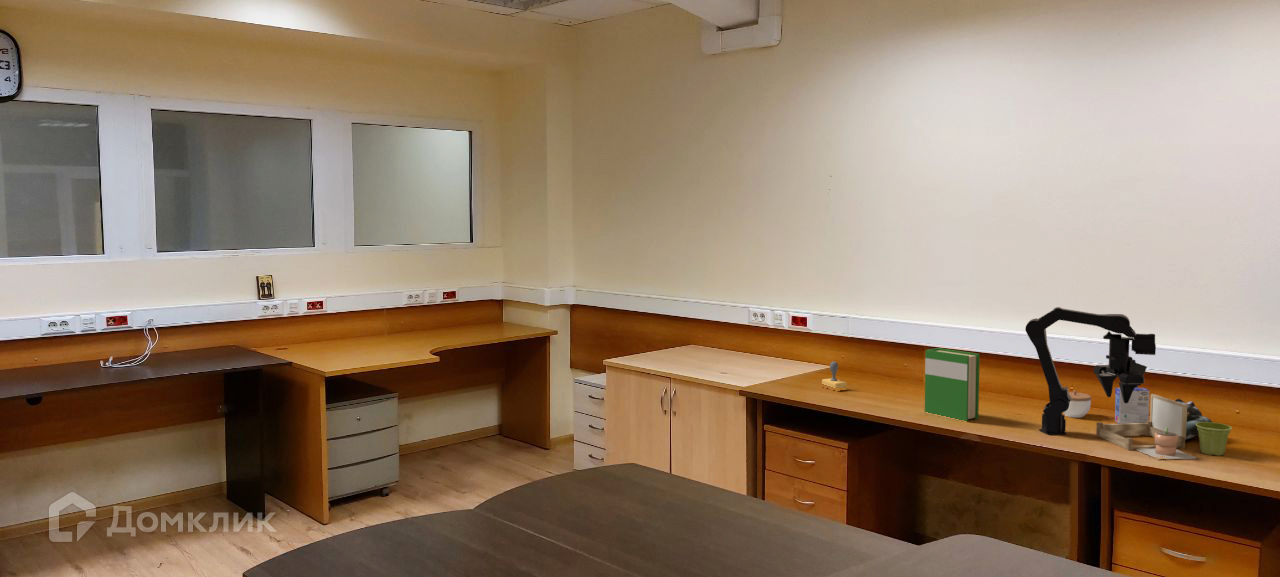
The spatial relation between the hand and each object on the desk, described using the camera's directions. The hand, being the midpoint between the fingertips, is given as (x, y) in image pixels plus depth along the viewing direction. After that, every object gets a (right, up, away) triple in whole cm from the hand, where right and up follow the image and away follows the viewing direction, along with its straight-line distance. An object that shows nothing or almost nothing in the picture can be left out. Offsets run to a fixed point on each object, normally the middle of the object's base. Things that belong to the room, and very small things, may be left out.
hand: (1117, 400), depth 285 cm
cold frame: (+5, -13, -3) cm, 15 cm away
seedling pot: (+5, -14, -17) cm, 23 cm away
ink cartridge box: (+17, -11, +22) cm, 30 cm away
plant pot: (+20, -15, -17) cm, 30 cm away
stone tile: (+5, -15, -17) cm, 23 cm away
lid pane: (+15, -10, -3) cm, 18 cm away
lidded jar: (+2, -10, +33) cm, 35 cm away
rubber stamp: (-74, -7, +87) cm, 114 cm away
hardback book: (-42, -11, +36) cm, 56 cm away
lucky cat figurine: (+23, -13, +2) cm, 26 cm away
